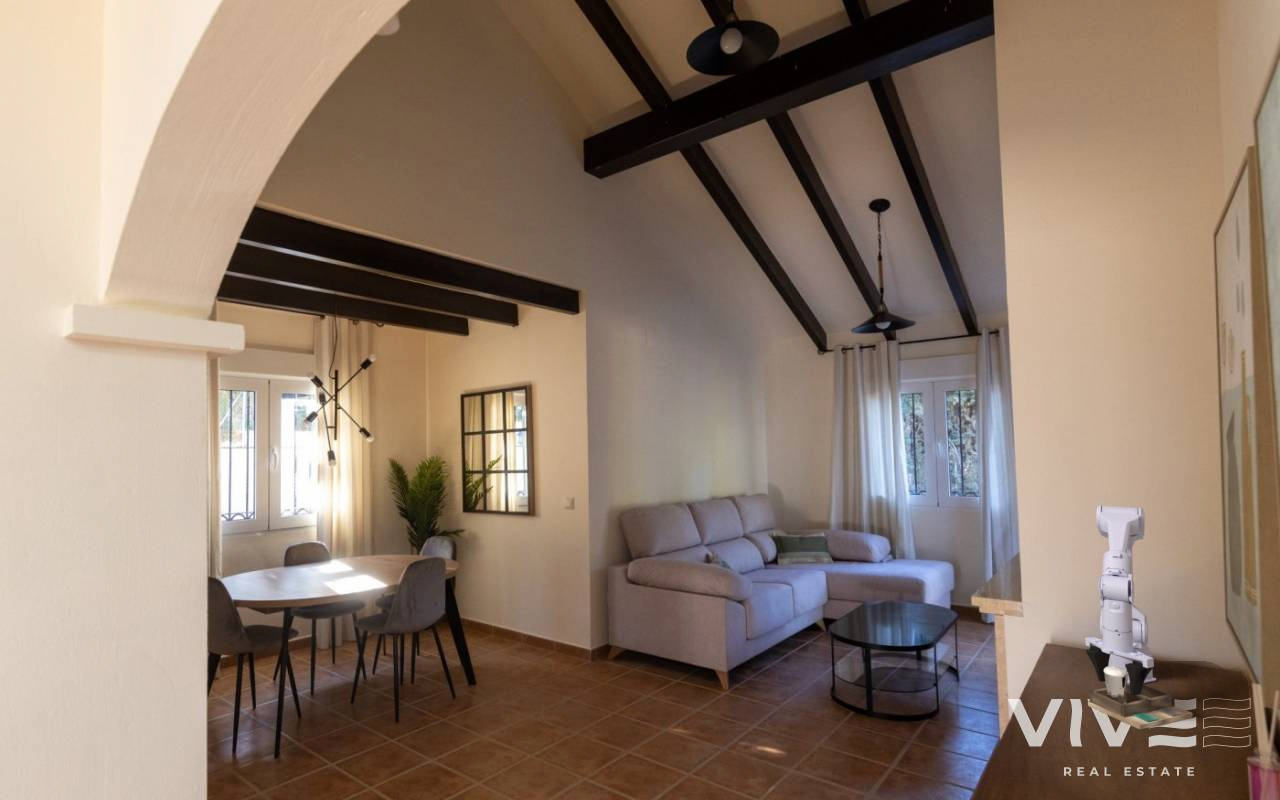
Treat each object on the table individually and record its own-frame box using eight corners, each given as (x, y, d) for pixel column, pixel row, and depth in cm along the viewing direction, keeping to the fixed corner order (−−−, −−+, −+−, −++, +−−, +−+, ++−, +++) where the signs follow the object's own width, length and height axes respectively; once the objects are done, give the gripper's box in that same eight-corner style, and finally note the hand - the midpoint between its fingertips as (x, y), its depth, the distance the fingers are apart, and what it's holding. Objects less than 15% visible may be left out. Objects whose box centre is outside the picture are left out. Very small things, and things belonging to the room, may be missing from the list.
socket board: (1138, 695, 159) (1137, 680, 159) (1192, 717, 148) (1192, 701, 148) (1088, 705, 155) (1087, 690, 155) (1140, 729, 143) (1139, 713, 143)
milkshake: (1137, 712, 149) (1136, 668, 149) (1111, 711, 150) (1110, 667, 150) (1125, 703, 153) (1124, 660, 153) (1100, 702, 154) (1099, 659, 154)
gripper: (1075, 620, 158) (1076, 677, 158) (1136, 641, 144) (1138, 703, 144) (1097, 617, 160) (1099, 673, 160) (1159, 637, 146) (1161, 698, 146)
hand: (1119, 687), depth 152 cm, fingers open, 7 cm apart
